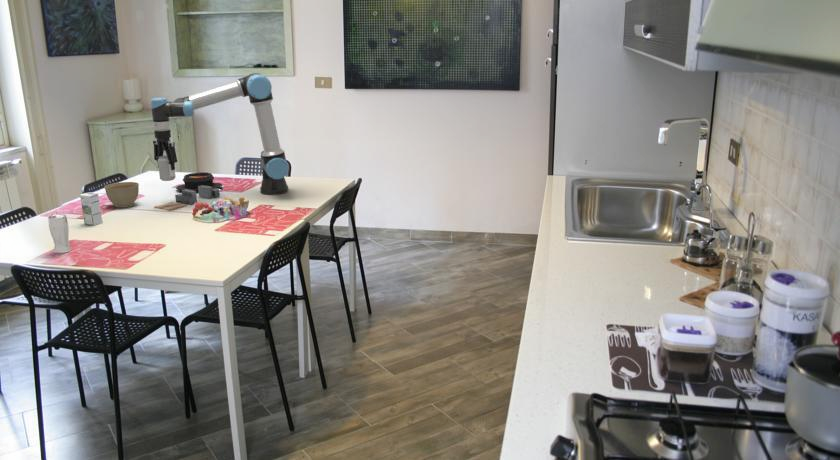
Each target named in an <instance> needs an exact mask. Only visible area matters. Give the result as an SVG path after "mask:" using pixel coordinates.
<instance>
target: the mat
mask: <svg viewBox="0 0 840 460" xmlns="http://www.w3.org/2000/svg"><path fill="white" fill-rule="evenodd" d="M186 207H189V205H186V204H181V203H176V201H170V202H166V203H163V204H159V205H155V206H154V209H159V210H162V211H163V210H164V211H170V212H171V211H174V210H178V209H182V208H186Z"/></svg>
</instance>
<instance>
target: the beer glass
mask: <svg viewBox="0 0 840 460" xmlns="http://www.w3.org/2000/svg"><path fill="white" fill-rule="evenodd" d="M47 219H48V227H49V231H50V235H51V237H52V240H53V244H54V253H55V254H59V253H60V254H66V252H67V253H70V252H71V251H72V248H71V246H70V245H71V244H70V242H69V241H70V240H69V233H70V232H69V231H70V230H69V223H68V218H67V215H66V214H64V213H59V214H57V213H56V214H52V215H49V216H48V217H47ZM69 251H70V252H69Z"/></svg>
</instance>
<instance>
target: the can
mask: <svg viewBox="0 0 840 460" xmlns="http://www.w3.org/2000/svg"><path fill="white" fill-rule="evenodd" d="M171 161H172V160H171ZM168 163H169V160H168V157H167V154H165V155H164V154H163V156H159V159H158V162H157V167H158V166H159V168H158V174H159V175H158V176H159V179H160V180H161V181H162V182H169V181H170V182H171V181H173V180H175V179H176V175H175V176H173V177H170V173H169V164H168Z"/></svg>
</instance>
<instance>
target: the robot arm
mask: <svg viewBox="0 0 840 460" xmlns="http://www.w3.org/2000/svg"><path fill="white" fill-rule="evenodd" d="M272 87H273V86H272V83H271V80H270V79H269V78H268V77H267V76H266V75H263V74H261V73H260V72H259V73H258V72H253V73H250V74H248V75H246V76H242V77H240V78H237V79H236V81H234V82H231V83H228V84H224V85H221V86H218V87H214V88H211V89H207V90H204V91H200V92H197V93H193V94H190V95H188V96H184V97H178V98H176V99H175V100H173V101H168V98H166V97H154V98H151V100H150V106H151V107H150V109H151V115H152V121H153V129H154V131H153V132H154V138H155V139H156V140H153V141H152V143H153V144H152V145H153V158H154V161H156V162H157V163H158V159H159V156H164V152H165V155H167V157H168V160H169V163H168V164H169V173H170V177H173V176H175V177H176V166H175V165H176V164H175V163H178V158H177V153H176V148H175V144H176V143H175V142H172V141H171V140H170V138H172V131H171V123H170V118H181V117H182V118H185V117H187V118H188V117H193V116H194V115H195V110H198V109H202V108H205V107H208V106H211V105H212V106H213V105H215V104H219V103H222V102H225V101H228V100H233V99H235V98H236V99H237V98H238V97H243V98H245V97H248V100H249V103H250V104H251V105H252V106H253V107H254V112H255V116H256V120H257V122H256V123H257V126H258V130H259V134H260V139H261V143H262V148H263V150H261V151H260V162H261V173H262V174H261V175H262V179H261V186H260V188H259V189H260V193H261V195H270V196H271V195H281V194H285V193H288V192H289V186H288V184H287V181H286V176H287V175H288V172H289V169H290V168H289V163H288V162H287V158H286V153H285V150H284V149H282V147H281V144H280V139H279V136H278V135H279V134H278V130H277V126H276V120H275V116H274V113H273V108H272V102H273V100H274V98H273V93H272V92H273V91H272ZM171 160H172V161H171ZM157 167H158V169H159V166H158V165H157Z"/></svg>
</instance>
